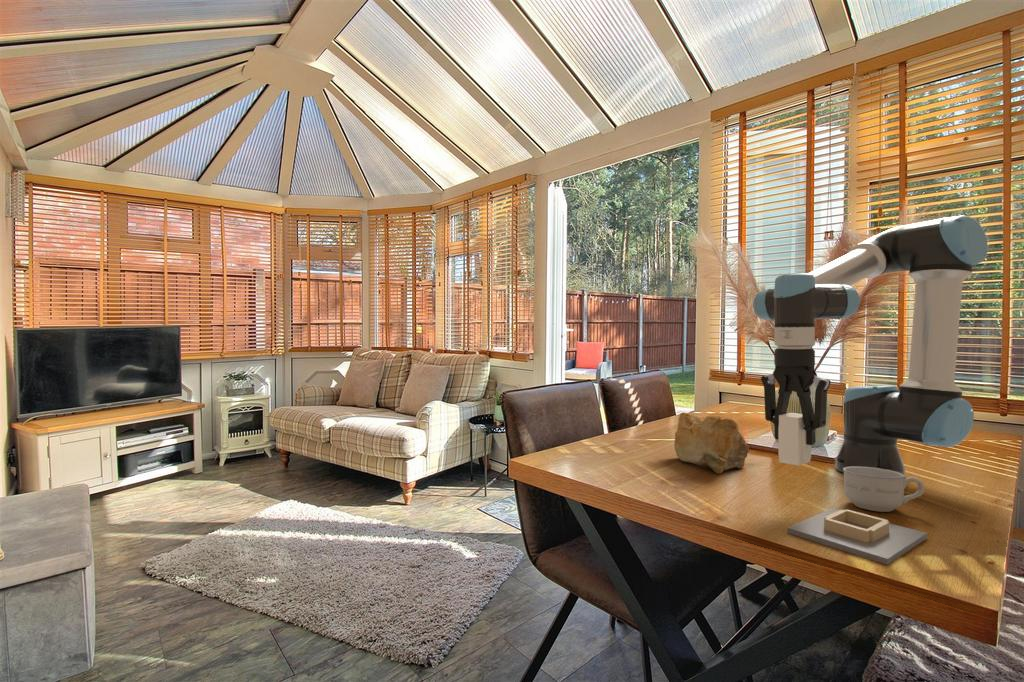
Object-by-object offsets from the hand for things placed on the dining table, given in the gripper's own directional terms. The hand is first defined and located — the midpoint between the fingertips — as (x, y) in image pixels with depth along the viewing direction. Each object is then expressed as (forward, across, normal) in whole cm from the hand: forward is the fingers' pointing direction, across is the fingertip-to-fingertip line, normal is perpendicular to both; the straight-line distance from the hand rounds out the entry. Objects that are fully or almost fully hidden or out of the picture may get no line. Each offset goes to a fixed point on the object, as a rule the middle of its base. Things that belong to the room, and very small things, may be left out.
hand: (794, 457), depth 109 cm
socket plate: (+11, +14, -6) cm, 19 cm away
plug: (+1, 0, 0) cm, 1 cm away
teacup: (+12, +11, +14) cm, 21 cm away
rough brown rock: (+11, -29, +16) cm, 35 cm away
